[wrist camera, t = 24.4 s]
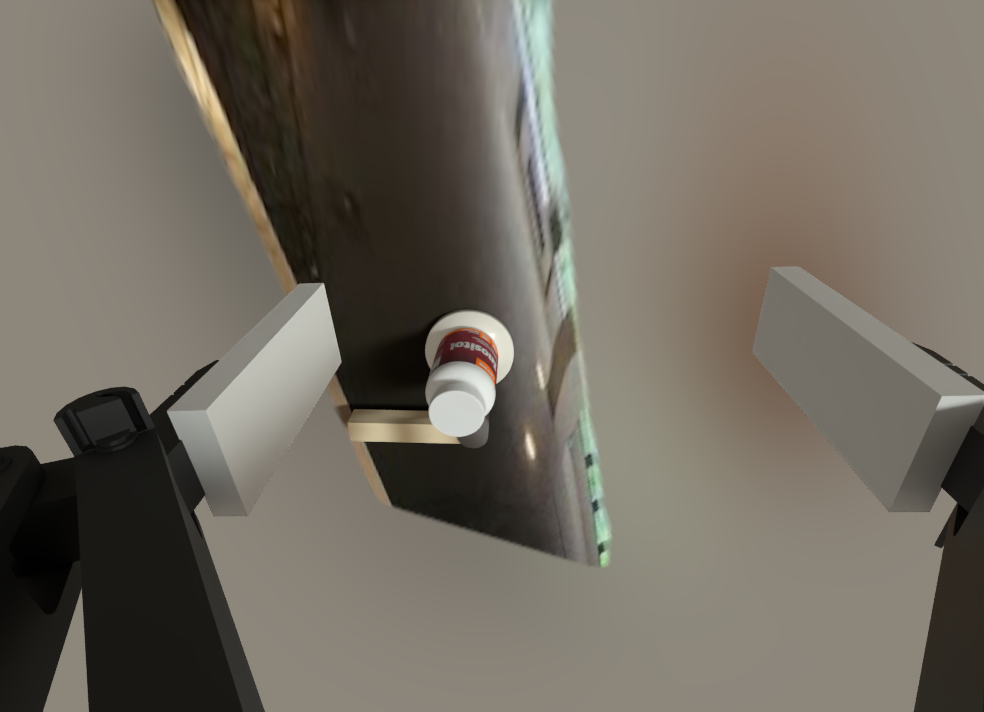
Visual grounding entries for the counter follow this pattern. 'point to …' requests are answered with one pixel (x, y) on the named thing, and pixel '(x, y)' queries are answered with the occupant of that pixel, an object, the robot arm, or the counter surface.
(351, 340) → the counter surface
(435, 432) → the hinged leg
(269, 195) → the counter surface
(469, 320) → the seat pad
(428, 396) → the pill bottle
